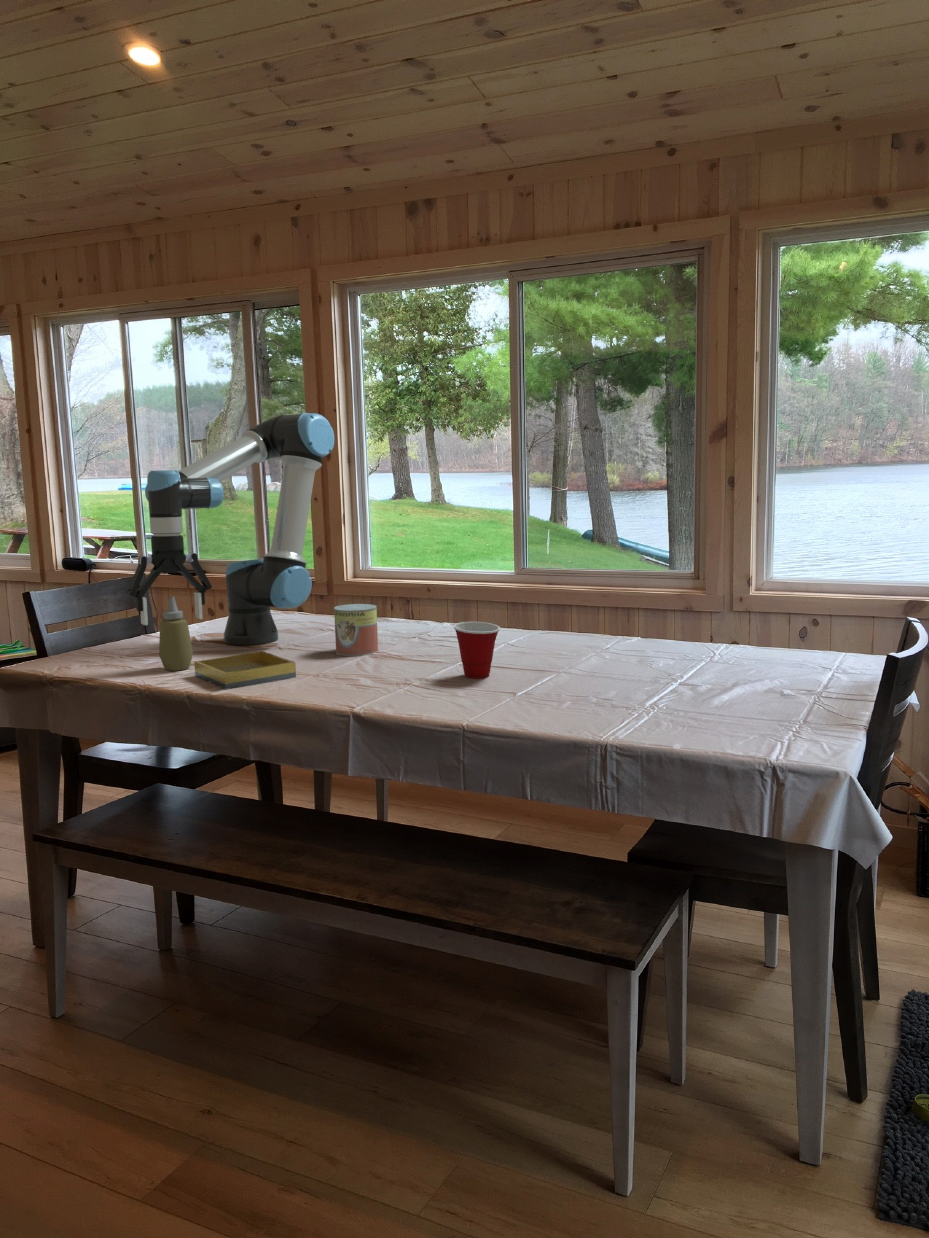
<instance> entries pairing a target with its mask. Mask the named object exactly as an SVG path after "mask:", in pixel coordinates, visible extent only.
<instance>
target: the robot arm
mask: <svg viewBox="0 0 929 1238" xmlns="http://www.w3.org/2000/svg"><path fill="white" fill-rule="evenodd" d="M334 445H335V432H334V430H333V427H332V426H331V423H330V422H329V421H328V419H327V418H325V416H323V415H321V414H320V413H315V412H314V413H312V412H311V413H310V412H303V413H294V414H293V413H292V414H280V415H276V416H273V417H270V418H268V419H265V420H264V421H262V422H260V423H258V424H257V425H255V426H252V427H250V428H249V429H247V430H245V431H244V432H242V433H241V436H240V438H238V439H236V440H234V441H233V442H231V443H229V444H227V445H224V446H223V447H221V448H220V449H217V450H215V451H214V452H211V453H209V454H208V455H206V456H203V457H202V458H201V459H200V458H199V459H198V460H196V461H195V462H192V463H191V464H189V465H187V466H185V467H183V468H181V469H179V470H175V469H174V470H172V469H169V470H165V469H164V470H151V471H148V473H147V479H146V480H147V481H146V486H145V489H144V493H145V494H144V496H145V498H146V500H147V502H148V513H149V527H150V528H149V529H150V531H149V532H150V534H152V535H151V537H150V547H151V556H146V555H145V556H143V555H140V556H138V561H137V567H136V570H135V572H134V574H133V576H132V579H131V582H130V584H129V586H128V589H127V591H126V594H127V595H128V596H130V597H134V598H135V607H136V611H137V612H140V624H141V625H143V626H148V625H149V621H148V619H149V618H148V602H147V597H145V595H146V593H147V592H148V590H149V589H150V587H151V586H152V585H153V583H154V582H155V581H156V579H158V577H159V576H160V575H161V574H170V573H173V574H177V573H179V574H181V575H182V576H183V577H184V579H186V581H187V582H189V584H190V585H191V586H193V588H194V589H195V590H196V591H195V592H193V596H194V597H193V598H194V613H195V618H196V619H198V620H203V606H205V605H206V593H207V591H208V590H211V589H212V587H213V586H212V584H211V582H210V580H209V579H208V577H207V575H206V573H205V571H204V569H203V567H202V566H201V564H200V562H199V557H198V554H197V553H196V552H189V553H188V554H185V544H184V536H183V535H182V533H183V532H184V527H183V524H184V523H183V514H182V513H183V510H187V509H188V510H189V509H190V510H191V509H193V510H194V509H195V510H197V509H208V510H209V509H211V508H213V509H214V508H217V507H219V506H220V505H221V504H222V502H223V500H224V496H225V494H224V487H223V485H222V483H221V482H222V481H224V480H226V479H227V478H229V477H230V476H233V475H235V474H236V473H238V472H240V471H241V470H243V469H245V468H247V467H249V466H251V465H252V464H254V463H257V464H262V463H264V462H266V461H267V460H270V459H275V458H279V460H280V461H281V463H282V464H283V471H282V477H281V484H280V489H279V491H280V492H279V496H278V503H277V507H276V515H275V522H274V527H273V533H272V539H271V546H270V550H269V551H268V552H266V553H265V554H264V555H263V558H256V559H249V560H242V561H241V560H240V561H239V560H238V561H234V562H233V561H232V562H229V563H228V564H227V565H226V567H225V580H226V581H225V582H226V595H227V607H228V616H227V620H226V625H225V629H224V632H223V642H224V643H225V644H228V645H234V646H237V645H238V646H250V645H251V646H252V645H260V644H267V643H272V642H275V641H277V640H279V631H278V628H277V626H276V625H277V624H276V623H275V621H274V618H273V616H272V615H273V614H272V612H271V608H277V609H281V610H283V609H296V608H298V607H299V606H301V605H302V604H303V603H305V602H306V601H307V599H308V598H309V596H310V594H311V591H312V586H313V585H312V584H313V581H312V577H311V576H310V572H309V571H308V570H307V569H306V567H307V561H306V559H304V557H303V551H304V544H305V538H306V532H307V526H308V525H307V524H308V519H309V513H310V505H311V500H312V495H313V488H314V482H315V481H314V480H315V475H316V471H317V470H319V469H320V468H321V467H322V466H323V459H324V457H326V456H327V455H329V454H330V453H331V452H332V451H333V449H334ZM186 560H187V562H188V563H190V565H191V567H192V569H193V570H194V572H195V574H196V576H197V578H198V579H199V581H200V582H199V581H198V580H197V578H195V577H194V576H193V574H192V573H190V571H189V570H188V568H186V566H185V565H184V564H185V562H186ZM150 563H152V565H153V567H152V568H151V570H150V572H149V574H148V575H147V576H146V578H145V579H144V580H143V581H142V579H143V577H144V574H145V572H146V569H147V567H148V566H149V564H150ZM141 581H142V583H141ZM140 584H141V585H140Z"/></svg>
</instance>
